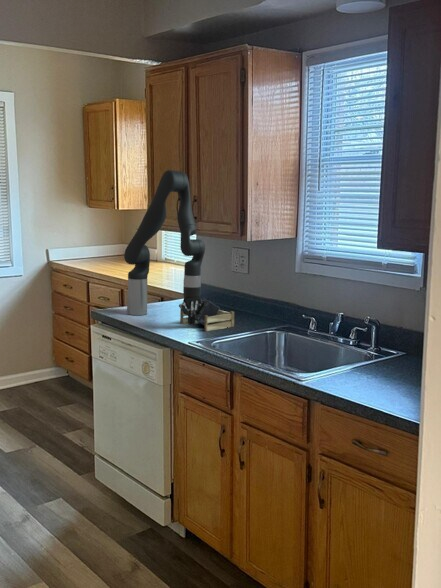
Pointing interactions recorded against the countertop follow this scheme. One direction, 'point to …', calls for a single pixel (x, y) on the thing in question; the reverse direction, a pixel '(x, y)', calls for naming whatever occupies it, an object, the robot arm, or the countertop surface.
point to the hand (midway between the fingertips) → (191, 324)
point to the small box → (206, 311)
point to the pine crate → (214, 320)
